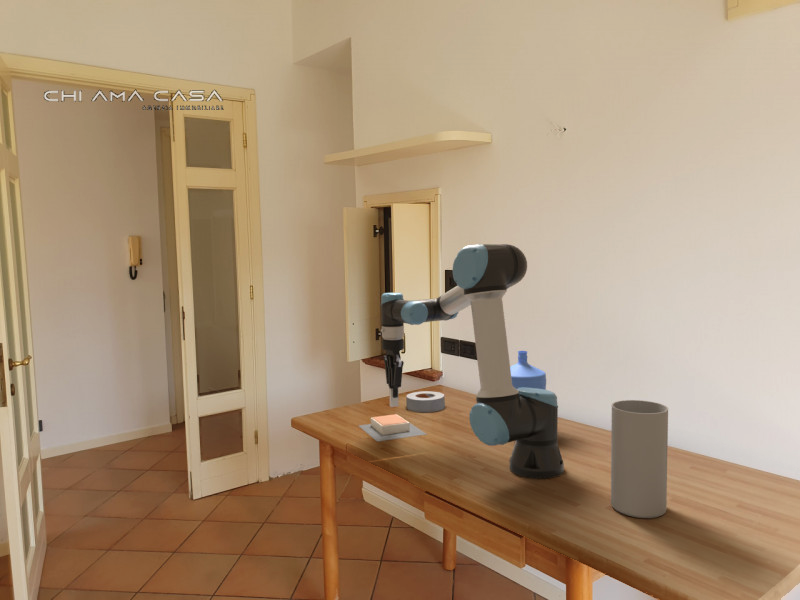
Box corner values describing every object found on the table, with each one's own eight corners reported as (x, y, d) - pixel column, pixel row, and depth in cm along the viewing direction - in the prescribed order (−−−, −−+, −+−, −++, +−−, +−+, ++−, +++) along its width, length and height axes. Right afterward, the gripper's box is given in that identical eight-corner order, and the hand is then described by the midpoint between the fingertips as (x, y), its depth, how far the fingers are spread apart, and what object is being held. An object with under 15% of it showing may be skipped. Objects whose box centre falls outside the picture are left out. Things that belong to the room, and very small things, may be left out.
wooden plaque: (409, 422, 211) (396, 413, 222) (382, 425, 207) (370, 417, 218) (409, 431, 211) (396, 422, 222) (382, 435, 207) (370, 425, 218)
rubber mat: (427, 435, 207) (427, 434, 207) (377, 442, 201) (377, 441, 201) (404, 420, 226) (404, 419, 226) (358, 426, 219) (358, 425, 219)
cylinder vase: (637, 523, 139) (639, 416, 137) (599, 503, 150) (600, 403, 148) (678, 513, 144) (680, 409, 142) (638, 494, 155) (639, 397, 153)
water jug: (544, 441, 199) (544, 356, 196) (496, 437, 204) (495, 354, 202) (548, 427, 214) (548, 348, 211) (503, 424, 219) (503, 347, 216)
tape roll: (398, 407, 245) (398, 395, 245) (426, 400, 255) (426, 389, 255) (424, 415, 234) (424, 402, 233) (452, 407, 243) (452, 395, 243)
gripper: (375, 336, 212) (377, 403, 214) (389, 341, 200) (390, 412, 202) (395, 334, 215) (397, 400, 217) (410, 339, 203) (411, 409, 205)
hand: (394, 406), depth 210 cm, fingers closed
